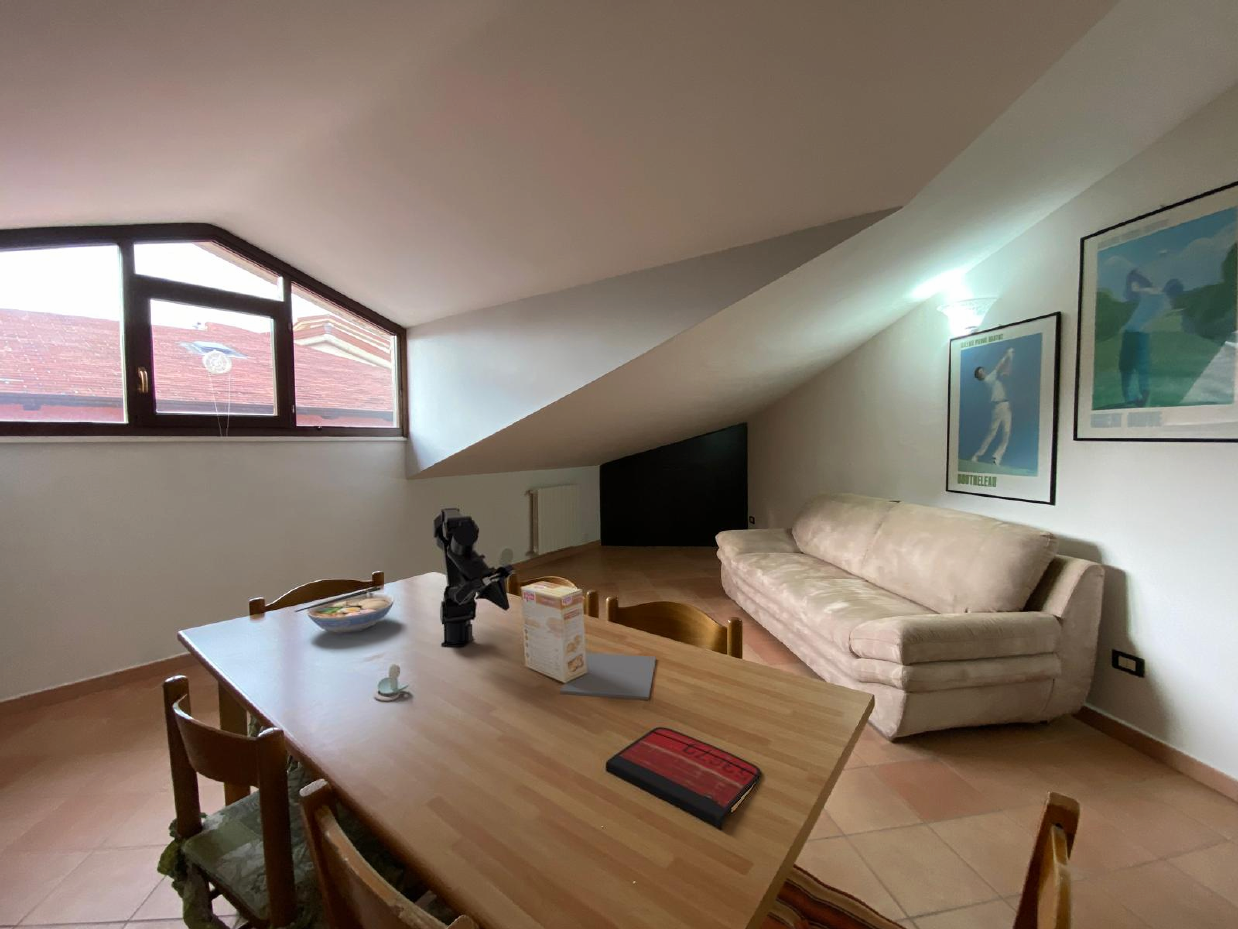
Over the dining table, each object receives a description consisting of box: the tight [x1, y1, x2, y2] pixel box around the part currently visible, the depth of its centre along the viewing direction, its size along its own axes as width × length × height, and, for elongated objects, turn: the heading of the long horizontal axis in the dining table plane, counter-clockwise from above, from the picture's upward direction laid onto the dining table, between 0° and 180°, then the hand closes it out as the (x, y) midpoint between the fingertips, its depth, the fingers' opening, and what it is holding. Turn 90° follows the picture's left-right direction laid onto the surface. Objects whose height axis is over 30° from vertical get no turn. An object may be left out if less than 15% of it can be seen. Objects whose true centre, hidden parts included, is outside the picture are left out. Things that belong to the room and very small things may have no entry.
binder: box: [605, 726, 762, 831], centre depth 83 cm, size 16×2×21 cm
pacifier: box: [373, 663, 410, 702], centre depth 108 cm, size 7×6×6 cm
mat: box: [560, 652, 657, 701], centre depth 117 cm, size 19×20×1 cm
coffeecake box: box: [520, 580, 587, 684], centre depth 119 cm, size 15×7×20 cm, turn 47°
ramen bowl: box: [293, 586, 395, 634], centre depth 146 cm, size 25×23×8 cm
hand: (507, 609), depth 122 cm, fingers closed
